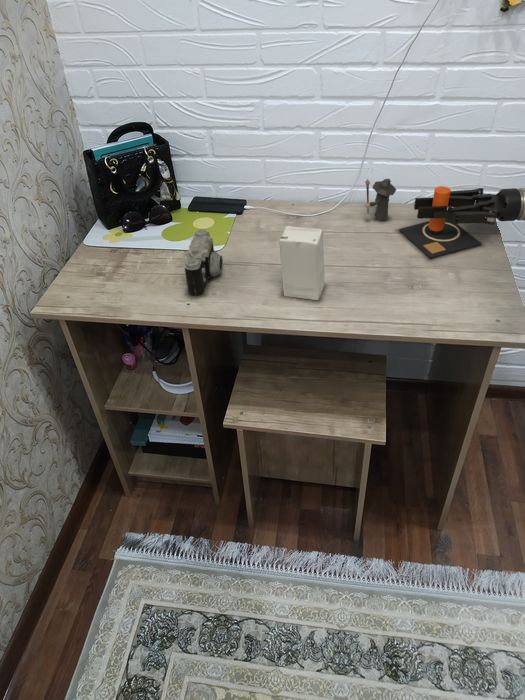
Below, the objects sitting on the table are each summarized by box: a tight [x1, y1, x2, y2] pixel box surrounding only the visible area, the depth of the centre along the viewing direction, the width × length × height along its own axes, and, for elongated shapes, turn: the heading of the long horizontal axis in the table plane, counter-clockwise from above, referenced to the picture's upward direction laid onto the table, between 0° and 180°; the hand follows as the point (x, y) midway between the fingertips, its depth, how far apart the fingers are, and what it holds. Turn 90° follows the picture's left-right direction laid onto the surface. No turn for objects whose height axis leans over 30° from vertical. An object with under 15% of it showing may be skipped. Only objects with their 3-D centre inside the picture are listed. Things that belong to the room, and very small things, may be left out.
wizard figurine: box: [364, 178, 397, 221], centre depth 144 cm, size 8×6×12 cm
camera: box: [183, 228, 224, 298], centre depth 129 cm, size 15×7×10 cm, turn 173°
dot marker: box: [429, 185, 452, 234], centre depth 136 cm, size 4×4×11 cm
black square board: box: [398, 219, 482, 260], centre depth 140 cm, size 14×14×1 cm
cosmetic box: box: [278, 225, 325, 301], centre depth 122 cm, size 8×6×15 cm
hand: (416, 208), depth 136 cm, fingers closed on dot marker, 4 cm apart
